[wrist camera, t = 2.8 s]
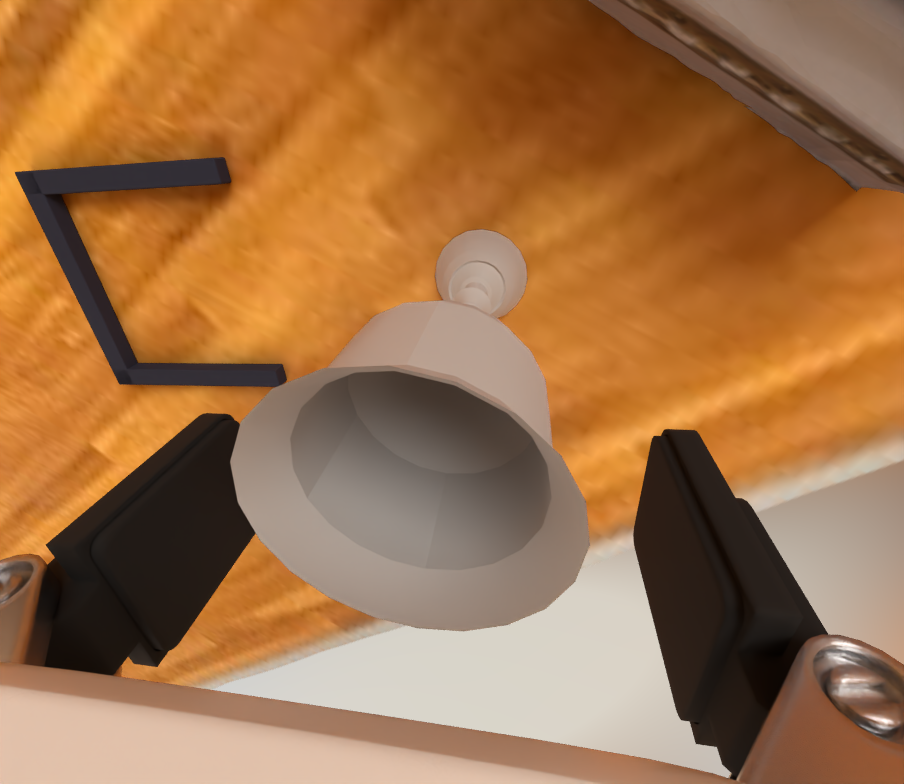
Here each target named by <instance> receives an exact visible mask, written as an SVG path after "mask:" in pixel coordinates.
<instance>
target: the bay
mask: <svg viewBox="0 0 904 784" xmlns="http://www.w3.org/2000/svg"><path fill="white" fill-rule="evenodd" d="M15 174H16V176H17V179H18V181H19V183H20V185H21V187H22V189H23V191H24V193H25V195H26V197H27V199H28V201H29V203H30V205H31V207H32V209H33V211H34V213H35V215H36V217H37V219H38V221H39V223H40V225H41V227H42V229H43V231H44V233H45V235H46V237H47V239H48V241H49V243H50V245H51V247H52V249H53V251H54V253H55V255H56V257H57V259H58V261H59V263H60V265H61V267H62V269H63V271H64V273H65V275H66V277H67V279H68V281H69V283H70V286H71V288H72V290H73V292H74V294H75V296H76V298H77V300H78V302H79V304H80V306H81V308H82V310H83V312H84V314H85V316H86V318H87V320H88V322H89V324H90V326H91V328H92V330H93V332H94V334H95V336H96V338H97V340H98V342H99V344H100V346H101V348H102V350H103V352H104V354H105V356H106V358H107V360H108V362H109V364H110V366H111V368H112V370H113V372H114V374H115V376H116V378H117V380H118V382H119V384H130V385H195V386H259V387H277V386H280V385H282V384H283V383H284V382H285V381H286V380H287V379H286V375H285V371H284V368H283V365H282V364H186V363H138V362H137V360H136V358H135V356H134V354H133V352H132V349H131V347H130V345H129V343H128V341H127V338H126V336H125V334H124V332H123V330H122V328H121V325H120V323H119V321H118V319H117V317H116V315H115V312H114V310H113V308H112V306H111V304H110V301H109V299H108V297H107V295H106V293H105V291H104V288H103V286H102V284H101V282H100V280H99V278H98V275H97V273H96V271H95V269H94V267H93V264H92V262H91V260H90V258H89V256H88V254H87V251H86V249H85V247H84V245H83V243H82V241H81V238H80V236H79V234H78V232H77V230H76V227H75V225H74V223H73V221H72V219H71V217H70V214H69V212H68V210H67V208H66V206H65V204H64V201H63V199H62V197H61V195H60V194H67V193H83V192H100V191H116V190H133V189H149V188H166V187H182V186H198V185H215V184H225V183H230V182H231V179H230V175H229V172H228V168H227V165H226V161H225V158H223V157H221V158H206V159H191V160H177V161H163V162H149V163H135V164H121V165H107V166H93V167H79V168H64V169H50V170H36V171H22V172H15Z"/></svg>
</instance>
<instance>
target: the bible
mask: <svg viewBox="0 0 904 784" xmlns="http://www.w3.org/2000/svg"><path fill="white" fill-rule="evenodd" d="M588 1H590V2H591V3H593V4H594V5H595V6H597V7H598V8H600V9H601V10H603V11H604V12H606V13H607V14H609V15H610V16H612V17H613V18H615V19H616V20H617V21H619V22H620V23H621V24H622V25H623V26H625V27H626V28H627V29H628V30H630V31H631V32H632V33H634V34H635V35H636V36H638V37H639V38H641V39H643V40H645V41H646V42H648V43H650V44H652V45H654V46H656V47H657V48H659V49H661V50H663V51H665V52H667V53H669V54H670V55H672V56H674V57H675V58H676V59H678V60H679V61H680V62H681V63H683V64H684V65H686V66H687V67H689V68H690V69H691V70H693V71H695V72H697V73H699V74H701V75H703V76H705V77H707V78H709V79H711V80H712V81H714V82H716V83H717V84H718V85H719V86H720V87H721V88H722V89H723V90H725V91H727V92H729V93H730V94H731V95H732V96H733V98H734V99H736V100H738V101H740V102H742V103H744V104H746V105H747V106H749V107H751V108H749V107H747V108H748V109H750V110H751V111H753V112H754V113H756V114H757V115H759V116H760V117H761V118H763V119H764V120H765V121H767V122H768V123H769V124H771V125H772V126H773V127H774V128H775V129H776V130H777V131H778V132H779V133H781V134H783V135H785V136H788V137H790V138H791V139H792V140H793V141H795V142H796V143H797V144H798V145H799V146H801V147H802V148H804V149H805V150H807V151H808V152H809V153H810V154H812V155H813V156H814V157H815V158H816V159H817V160H818V161H820V162H822V163H824V164H826V165H828V166H830V167H831V168H832V169H833V170H834V171H835V172H836V173H837V174H839V175H840V176H841V177H842V178H843V179H844V180H845V181H846V182H847V183H848V184H849V185H850V186H851V187H852V188H853V189H854V190H855V191H856V192H857V191H858V190H859V188H861V187H867V188H875V189H883V190H890V191H897V192H901V193H904V0H588ZM745 107H746V106H745ZM752 108H753V109H752Z"/></svg>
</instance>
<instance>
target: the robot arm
mask: <svg viewBox="0 0 904 784" xmlns="http://www.w3.org/2000/svg"><path fill="white" fill-rule="evenodd" d="M239 427H240V424H239V423H238V422H237V421H235V420H234V418H233V417H232V416H231V415H228V414H212V413H206V414H202V415H200V416H199V417H197V418H196V419H195V420H194V421H193V422H191V423H190V424H189V425H188V426H187V427H185V428H184V429H183V430H182V431H181V432H180V433H178V434H177V435H176V436H175V437H174V438H172V439H171V440H170V441H169V442H168V443H166V444H165V445H164V446H163V447H162V448H160V449H159V450H158V451H157V452H156V453H155V454H153V455H152V456H151V457H150V458H149V459H147V460H146V461H145V462H144V463H143V464H141V465H140V466H139V467H138V468H137V469H135V470H134V471H133V472H132V473H131V474H129V475H128V476H127V477H126V478H125V479H124V480H122V481H121V482H120V483H119V484H118V485H116V486H115V487H114V488H113V489H112V490H110V491H109V492H108V493H107V494H106V495H104V496H103V497H102V498H101V499H100V500H99V501H97V502H96V503H95V504H94V505H93V506H91V507H90V508H89V509H88V510H87V511H85V512H84V513H83V514H82V515H81V516H79V517H78V518H77V519H76V520H75V521H74V522H72V523H71V524H70V525H69V526H68V527H66V528H65V529H64V530H63V531H62V532H60V533H59V534H58V535H57V536H56V537H54V538H53V539H52V540H51V541H50V542H48V543H47V544H46V546H47V547H48V549H49V550H50V551H51V553H52V554H53V555H54V557H55V559H53V560H52V561H51V562H50V563H49V564H48V565H47V564H46V562H45V561H44V560H43V559H42V558H41V557H40V556H38V555H33V554H23V555H16V556H13V557H9V558H6V559H2V560H0V784H904V665H903V664H902V663H900V662H899V661H897V660H895V659H894V658H892V657H891V656H889V655H888V654H886V653H885V652H883V651H882V650H880V649H877V648H875V647H873V646H871V645H869V644H866V643H864V642H862V641H860V640H856V639H852V638H849V637H845V636H841V635H828V633H827V631H826V630H825V628H824V627H823V625H822V623H821V621H820V620H819V618H818V617H817V615H816V613H815V612H814V610H813V608H812V606H811V605H810V603H809V601H808V600H807V598H806V597H805V595H804V593H803V591H802V590H801V588H800V587H799V585H798V583H797V582H796V580H795V578H794V577H793V575H792V573H791V572H790V570H789V568H788V567H787V565H786V563H785V562H784V560H783V558H782V557H781V555H780V553H779V552H778V550H777V548H776V547H775V545H774V543H773V542H772V540H771V538H770V537H769V535H768V533H767V532H766V530H765V528H764V527H763V525H762V523H761V522H760V520H759V518H758V517H757V515H756V513H755V512H754V510H753V508H752V507H751V506H750V504H749V503H748V502H747V501H745V500H744V499H742V498H735V496H734V495H733V493H732V491H731V489H730V488H729V486H728V484H727V482H726V481H725V479H724V477H723V475H722V474H721V472H720V470H719V468H718V467H717V465H716V463H715V461H714V460H713V458H712V456H711V454H710V453H709V451H708V449H707V447H706V446H705V444H704V442H703V440H702V439H701V437H700V435H699V434H698V432H697V431H695V430H673V429H665V430H664V431H663V433H662V435H661V436H654V437H653V438H652V442H651V446H650V451H649V456H648V461H647V466H646V471H645V476H644V481H643V486H642V491H641V496H640V501H639V506H638V511H637V516H636V521H635V526H634V534H633V537H634V546H635V550H636V554H637V558H638V562H639V566H640V570H641V574H642V578H643V582H644V585H645V589H646V593H647V597H648V601H649V605H650V609H651V613H652V617H653V621H654V625H655V629H656V633H657V636H658V640H659V644H660V648H661V652H662V656H663V660H664V664H665V668H666V672H667V676H668V680H669V683H670V687H671V691H672V695H673V699H674V703H675V707H676V710H677V713H678V716H679V717H680V719H681V720H684V721H690V724H691V727H692V731H693V735H694V739H695V742H696V744H701V745H707V746H714V747H717V749H718V752H719V755H720V758H721V761H722V765H724V766H725V767H726V768H727V769H728V770H729V771H730V772H731V773H730V775H729V778H726V777H722V776H719V775H716V774H713V773H708V772H704V771H700V770H695V769H691V768H687V767H682V766H678V765H673V764H669V763H664V762H660V761H656V760H651V759H646V758H640V757H634V756H629V755H623V754H617V753H611V752H606V751H599V750H594V749H588V748H583V747H577V746H571V745H565V744H560V743H553V742H548V741H542V740H537V739H530V738H523V737H517V736H511V735H505V734H498V733H492V732H485V731H479V730H472V729H466V728H459V727H452V726H446V725H439V724H434V723H427V722H421V721H414V720H408V719H401V718H395V717H388V716H382V715H375V714H369V713H362V712H355V711H348V710H342V709H335V708H328V707H322V706H315V705H309V704H301V703H295V702H288V701H282V700H275V699H268V698H262V697H255V696H248V695H241V694H235V693H228V692H221V691H214V690H208V689H201V688H194V687H187V686H180V685H173V684H166V683H159V682H152V681H145V680H138V679H131V678H124V677H121V673H122V667H121V665H122V664H123V662H124V661H125V660H126V658H127V657H128V656H129V658H130V659H131V660H132V662H133V663H134V664H140V665H147V666H154V667H158V665H159V664H160V662H161V661H162V660H163V658H164V657H165V655H166V654H167V652H168V651H169V650H172V649H173V648H175V647H176V646H177V645H178V644H179V642H180V641H181V640H182V638H183V637H184V635H185V634H186V632H187V631H188V630H189V628H190V627H191V625H192V624H193V622H194V621H195V619H196V618H197V617H198V615H199V614H200V612H201V611H202V609H203V608H204V607H205V605H206V604H207V602H208V601H209V599H210V598H211V596H212V595H213V594H214V592H215V591H216V589H217V588H218V586H219V585H220V584H221V582H222V581H223V579H224V578H225V576H226V575H227V573H228V572H229V571H230V569H231V568H232V566H233V565H234V563H235V562H236V560H237V559H238V558H239V556H240V555H241V553H242V552H243V550H244V549H245V548H246V546H247V545H248V543H249V542H250V540H251V539H252V537H253V536H254V535H255V531H254V529H253V528H252V526H251V524H250V522H249V521H248V519H247V517H246V516H245V514H244V512H243V510H242V509H241V507H240V505H239V504H238V500H237V495H236V490H235V484H234V479H233V474H232V469H231V463H230V461H231V457H232V453H233V449H234V446H235V442H236V438H237V434H238V431H239Z"/></svg>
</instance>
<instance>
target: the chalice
mask: <svg viewBox="0 0 904 784" xmlns="http://www.w3.org/2000/svg"><path fill="white" fill-rule="evenodd" d="M435 278H436V283H437V289H438V291H439V293H440V295H441V297H442V299H443V300H442V301H426V302H411V303H403V304H401V305H398V306H396V307H394V308H391V309H389V310H387V311H384V312H382V313H380V314H377V315H375V316H374V317H373V318H372V319H371V320H370V321H369V322H368V323H367V324H366V325H365V326H364V327H363V328H362V329H361V330H360V331H359V332H358V333H357V334H356V335H355V336H354V337H353V338H352V339H351V340H350V341H349V343H348V344H347V345H346V346H345V347H344V348H343V350H342V351H341V352H340V353H339V354H338V355H337V357H336V358H335V359H334V360H333V361H332V362H331V364H330V365H329V366H328V367H327V368H323V369H321V370H318V371H315V372H313V373H310V374H308V375H305V376H303V377H300V378H298V379H295V380H293V381H290V382H288V383H285V384H283V385H280V386H277V387H275V388H273V389H272V390H271V391H270V392H269V393H268V394H267V395H266V396H265V397H264V398H263V399H262V400H261V401H260V402H259V403H258V404H257V405H256V406H255V407H254V409H253V410H252V411H251V412H250V413H249V414H248V415H247V416H246V417H245V418H244V419H243V420H242V421H241V423H240V427H239V431H238V434H237V438H236V442H235V446H234V449H233V453H232V457H231V461H230V463H231V469H232V474H233V479H234V484H235V490H236V495H237V500H238V504H239V505H240V507H241V509H242V510H243V512H244V514H245V516H246V517H247V519H248V521H249V522H250V524H251V526H252V528H253V529H254V531H255V533H256V534H257V536H258V538H259V540H260V541H261V542H262V543H263V544H264V545H265V546H266V547H267V548H268V549H269V550H270V551H271V552H272V553H273V554H274V555H275V556H276V557H277V558H278V559H279V560H280V561H281V562H282V563H283V564H284V565H285V566H286V567H287V568H288V569H289V570H290V571H291V572H292V573H294V574H295V575H297V576H298V577H299V578H301V579H302V580H304V581H305V582H307V583H308V584H310V585H311V586H313V587H314V588H316V589H317V590H319V591H320V592H322V593H323V594H325V595H326V596H328V597H329V598H331V599H334V600H336V601H338V602H340V603H343V604H345V605H347V606H349V607H352V608H354V609H356V610H358V611H361V612H363V613H365V614H367V615H370V616H372V617H376V618H380V619H384V620H387V621H391V622H395V623H399V624H403V625H407V626H411V627H415V628H425V629H438V630H452V631H468V630H475V629H482V628H490V627H497V626H504V625H508V624H511V623H513V622H515V621H518V620H520V619H522V618H525V617H527V616H530V615H532V614H534V613H537V612H539V611H542V610H544V609H546V608H547V607H548V606H549V605H550V604H551V603H552V602H554V601H555V600H556V598H558V597H559V596H560V595H561V594H562V593H563V592H564V591H565V590H567V589H568V588H569V587H570V586H571V585H572V584H573V583H574V582H575V580H576V578H577V575H578V573H579V571H580V568H581V566H582V563H583V561H584V558H585V556H586V553H587V551H588V548H589V546H590V543H589V531H588V520H587V508H586V501H585V499H584V497H583V495H582V494H581V492H580V490H579V488H578V486H577V484H576V482H575V481H574V479H573V477H572V475H571V473H570V471H569V469H568V467H567V466H566V464H565V462H564V460H563V458H562V456H561V455H560V454H559V453H558V452H557V451H555V450H554V449H553V446H552V436H551V426H550V415H549V406H548V397H547V389H546V381H545V378H544V376H543V374H542V372H541V370H540V368H539V366H538V364H537V362H536V360H535V358H534V356H533V354H532V352H531V351H530V350H529V349H528V348H527V347H526V346H525V345H524V344H523V343H522V342H521V341H520V340H519V339H518V338H517V337H516V336H515V334H514V333H513V332H512V331H511V330H510V329H509V328H508V327H507V326H505V325H504V324H503V323H502V322H501V321H500V320H498V319H497V318H499V317H501V316H503V315H506V314H507V313H508V312H509V311H511V310H512V309H513V308H514V307H515V306H516V305H517V304H518V302H519V301H520V299H521V297H522V296H523V294H524V291H525V287H526V283H527V270H526V263H525V261H524V259H523V256H522V254H521V252H520V250H519V249H518V248H517V247H516V246H515V245H514V243H513V242H512V241H511V240H510V239H508V238H506V237H505V236H503V235H501V234H499V233H498V232H494V231H489V230H483V229H480V230H472V231H466V232H464V233H462V234H461V235H459V236H457V237H455V238H453V239H452V240H451V241H450V242H449V243H448V244H447V245H446V246H445V247H444V248H443V250H442V252H441V254H440V256H439V258H438V261H437V265H436V273H435Z"/></svg>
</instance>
